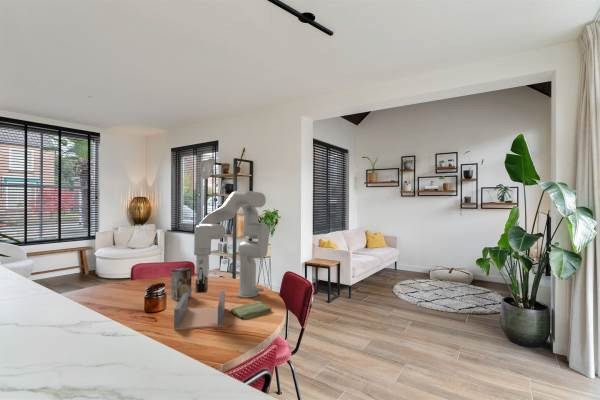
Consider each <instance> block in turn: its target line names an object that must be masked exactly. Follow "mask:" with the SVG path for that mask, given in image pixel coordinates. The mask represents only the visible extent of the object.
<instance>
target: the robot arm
mask: <svg viewBox="0 0 600 400" xmlns="http://www.w3.org/2000/svg"><path fill="white" fill-rule="evenodd" d="M266 202H267V199H266V196H265V194H264V193H263V192H258V191H252V190H234V191H232V192H231V193H230V194H229V195H228V197H227V198H226V200H225V201H224V203H223V204H222V205H221V206H220V207H219V208H217V209H215V210H213V211H212V212H210V213H208V214H207V215H205V217H204V218H202V220H201V221H200V222H199V224H198V225H196V226H194V236H193V237H194V238H193V239H194V245H193V255H194V256H196V258H195V259H196V261H195V263H196V265H195V270H196V271H195V276H196V278H197V277H198V284H197V292H205V283H204V277H208V276H209V273H210V255H212V240H221V239H223V238H224V237H225V235H226V233H227V232H226V227H225V226H224V225H222V224H220V223H222V222H226V221H228V220H231V219H233V218H234V217H235V216H236V215H237V213H238V212H239V210H240V209H242V211H243V224H242V225H243V226H242V236H243V237H244V238H246V239H250V240H243V241H241V242H240V243H239V244H238V247H237V252H238V257H239V280H238V281H239V288H238V289H239V291H236V296H237V297H238V298H244V299H245V298H246V299H248V298H255V297H257V296H258V295H259V292H264V287H257V285H256V284H257V263H256V261H255V259H264V258H266V256H267V254H268V251H269V241H270V240H269V239H270V229H269V226H268V224H267V223H263V222H259V212H258V210H257V208H263V207H264V206H265V204H266ZM251 239H253V240H251ZM255 240H257V241H255ZM202 278H203V279H202Z"/></svg>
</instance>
